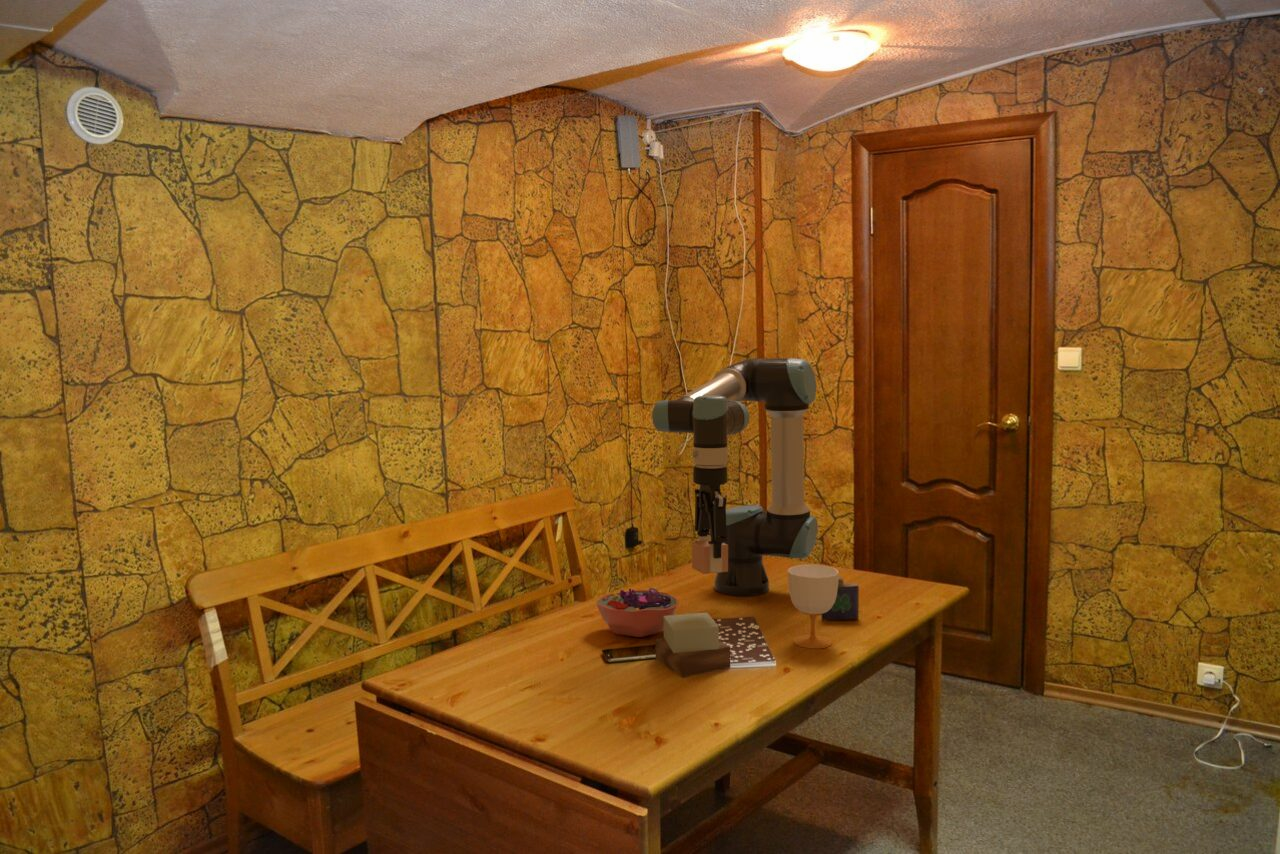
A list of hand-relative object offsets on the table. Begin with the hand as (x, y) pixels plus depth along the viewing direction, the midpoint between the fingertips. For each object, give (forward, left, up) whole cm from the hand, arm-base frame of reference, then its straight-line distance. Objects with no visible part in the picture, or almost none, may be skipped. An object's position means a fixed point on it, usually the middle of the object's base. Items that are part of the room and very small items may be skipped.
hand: (710, 568), depth 207 cm
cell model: (-19, -12, -20) cm, 30 cm away
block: (0, 0, 0) cm, 0 cm away
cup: (0, +25, -20) cm, 32 cm away
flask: (-13, +39, -20) cm, 46 cm away
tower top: (+4, -6, -15) cm, 17 cm away
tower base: (+4, -6, -20) cm, 21 cm away
